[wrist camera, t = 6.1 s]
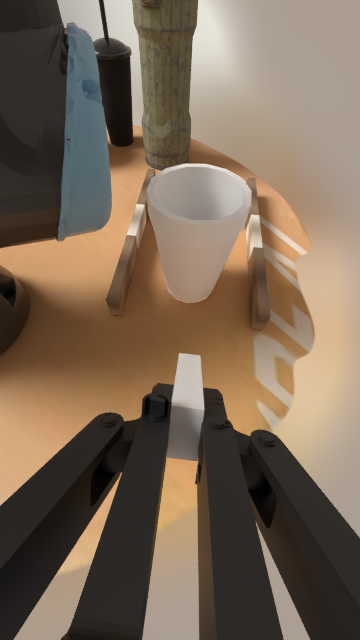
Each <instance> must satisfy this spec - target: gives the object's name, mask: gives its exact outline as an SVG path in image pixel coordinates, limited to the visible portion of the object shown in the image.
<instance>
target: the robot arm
mask: <svg viewBox="0 0 360 640" xmlns="http://www.w3.org/2000/svg"><path fill="white" fill-rule="evenodd" d="M111 207H112V194H111V176H110V163H109V151H108V141H107V131H106V123H105V115H104V108H103V106H102V96H101V89H100V81H99V70H98V64H97V58H96V53H95V48H94V44H93V42H92V39H91V37H90V36H89V34H88V33H87V32H86V31H85V30H83V29H81V28H79V27H77V25H75V23H73V22H72V23H67V28H64V26H63V22H62V19H61V15H60V11H59V7H58V3H57V0H0V248H4V247H10V246H17V245H23V244H29V243H35V242H41V241H47V240H53V239H57V241H58V242H59V241H63V240H64V239H65V238H66V237H71V236H75V235H80V234H85V233H90V232H94V231H97V230H100V229H101V228H103V227H104V226H105V225H106V223H107V222H108V220H109V218H110V214H111ZM28 311H29V300H28V295H27V293H26V291H25V289H24V288H23V286H22V285H21V284H20V283H19V281H18V280H17V279H16V278H15V276H14V275H13V274H12V273H11V272H9V271H8V270H7V269H6V268H4V267H2V266H1V265H0V355H1V354H2V353H3V352H4V351H5V350H6V349H7V348H8V347H9V346H10V345H11V344H12V343H13V342H14V340H15V339H16V338H17V336H18V335H19V333H20V332H21V330H22V328H23V326H24V324H25V322H26V319H27V316H28ZM166 457H169V458H177V459H184V460H192V461H197V460H198V467H197V474H196V481H195V484H197V502H198V567H199V568H198V570H199V636H200V637H199V640H283V635H282V631H281V627H280V623H279V619H278V614H277V610H276V606H275V602H274V598H273V594H272V589H271V585H270V581H269V576H268V573H267V568H266V564H265V560H264V556H263V551H262V547H261V543H260V539H259V534H258V530H257V526H256V523H257V525H258V527H259V529H260V532H261V534H262V536H263V538H264V540H265V542H266V545H267V547H268V549H269V551H270V553H271V555H272V558H273V560H274V562H275V564H276V566H277V568H278V570H279V573H280V575H281V577H282V579H283V581H284V583H285V585H286V588H287V590H288V592H289V594H290V596H291V599H292V601H293V603H294V605H295V607H296V609H297V611H298V614H299V616H300V618H301V620H302V622H303V624H304V627H305V629H306V631H307V633H308V635H309V637H310V639H311V640H360V538H359V537H358V535H357V534H356V533H355V532H354V530H353V529H352V528H351V527H350V525H349V524H348V523H347V522H346V520H345V519H344V518H343V517H342V515H341V514H340V513H339V512H338V510H337V509H336V508H335V507H334V505H333V504H332V503H331V502H330V501H329V499H328V498H327V497H326V496H325V494H324V493H323V492H322V491H321V489H320V488H319V487H318V486H317V484H316V483H315V482H314V481H313V479H312V478H311V477H310V476H309V475H308V473H307V472H306V471H305V470H304V468H303V467H302V466H301V465H300V463H299V462H298V461H297V460H296V458H295V457H294V456H293V455H292V453H291V452H290V451H289V450H288V448H287V447H286V446H285V445H284V443H283V442H282V441H281V440H280V439H279V438H278V437H277V436H276V435H274V434H273V433H271V432H269V431H265V430H255V431H253V432H252V433H251V436H248V435H245V434H242V433H240V432H238V431H236V430H234V429H233V425H232V423H231V422H230V421H229V420H228V419H227V415H226V411H225V406H224V401H223V397H222V394H221V393H220V392H219V391H218V389H209V388H203V384H202V371H201V357H200V355H193V354H184V353H179V358H178V364H177V370H176V377H175V383H174V385H170V384H161V383H158V384H157V385H155V386H154V387H153V390H152V393H151V394H148V395H146V396H145V397H144V398H143V402H142V415H141V417H140V418H139V419H136V420H132V421H124V420H123V417H122V416H121V415H119V414H117V413H103V414H100V415H98V416H97V417H95V418H94V419H93V420H92V421H91V422H90V423H89V424H88V425H87V426H86V427H85V428H83V429H82V430H81V431H80V432H79V433H78V434H77V435H76V436H75V437H74V438H73V439H72V440H71V441H69V442H68V443H67V444H66V445H65V446H64V447H63V448H62V449H61V450H60V451H59V452H58V453H57V454H56V455H54V456H53V457H52V458H51V459H50V460H49V461H48V462H47V463H46V464H45V465H44V466H43V467H42V468H41V469H39V470H38V471H37V472H36V473H35V474H34V475H33V476H32V477H31V478H30V479H29V480H28V481H27V482H26V483H24V484H23V485H22V486H21V487H20V488H19V489H18V490H17V491H16V492H15V493H14V494H13V495H12V496H11V497H9V498H8V499H7V500H6V501H5V502H4V503H3V504H2V505H1V506H0V640H13V639H14V638H15V636H16V635H17V633H18V632H19V630H20V629H21V627H22V626H23V624H24V622H25V621H26V619H27V618H28V616H29V615H30V613H31V612H32V610H33V609H34V607H35V605H36V604H37V603H38V601H39V599H40V598H41V596H42V595H43V593H44V592H45V590H46V589H47V587H48V586H49V584H50V583H51V581H52V579H53V578H54V576H55V575H56V573H57V572H58V570H59V569H60V567H61V566H62V564H63V563H64V561H65V559H66V558H67V556H68V555H69V553H70V552H71V550H72V549H73V547H74V546H75V544H76V543H77V541H78V539H79V538H80V536H81V535H82V533H83V532H84V530H85V529H86V527H87V526H88V524H89V523H90V521H91V519H92V518H93V516H94V515H95V513H96V512H97V510H98V509H99V507H100V506H101V504H102V503H103V501H104V499H105V498H106V496H107V495H108V493H109V492H110V490H111V489H112V487H113V486H114V484H115V483H116V481H117V480H118V478H119V476H120V474H121V472H122V475H121V478H120V481H119V484H118V487H117V490H116V493H115V496H114V499H113V502H112V505H111V508H110V511H109V514H108V517H107V520H106V523H105V526H104V529H103V531H102V534H101V537H100V540H99V543H98V546H97V549H96V552H95V555H94V558H93V561H92V564H91V567H90V570H89V573H88V576H87V579H86V582H85V585H84V588H83V591H82V594H81V597H80V600H79V603H78V606H77V609H76V612H75V615H74V618H73V621H72V623H71V626H70V628H69V630H68V632H67V633H66V634H65V635H64V636H63V637H62V638H61V640H142V636H143V628H144V621H145V613H146V606H147V599H148V591H149V584H150V576H151V569H152V561H153V554H154V546H155V538H156V532H157V524H158V517H159V509H160V502H161V495H162V487H163V480H164V472H165V464H166ZM255 521H256V522H255Z"/></svg>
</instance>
